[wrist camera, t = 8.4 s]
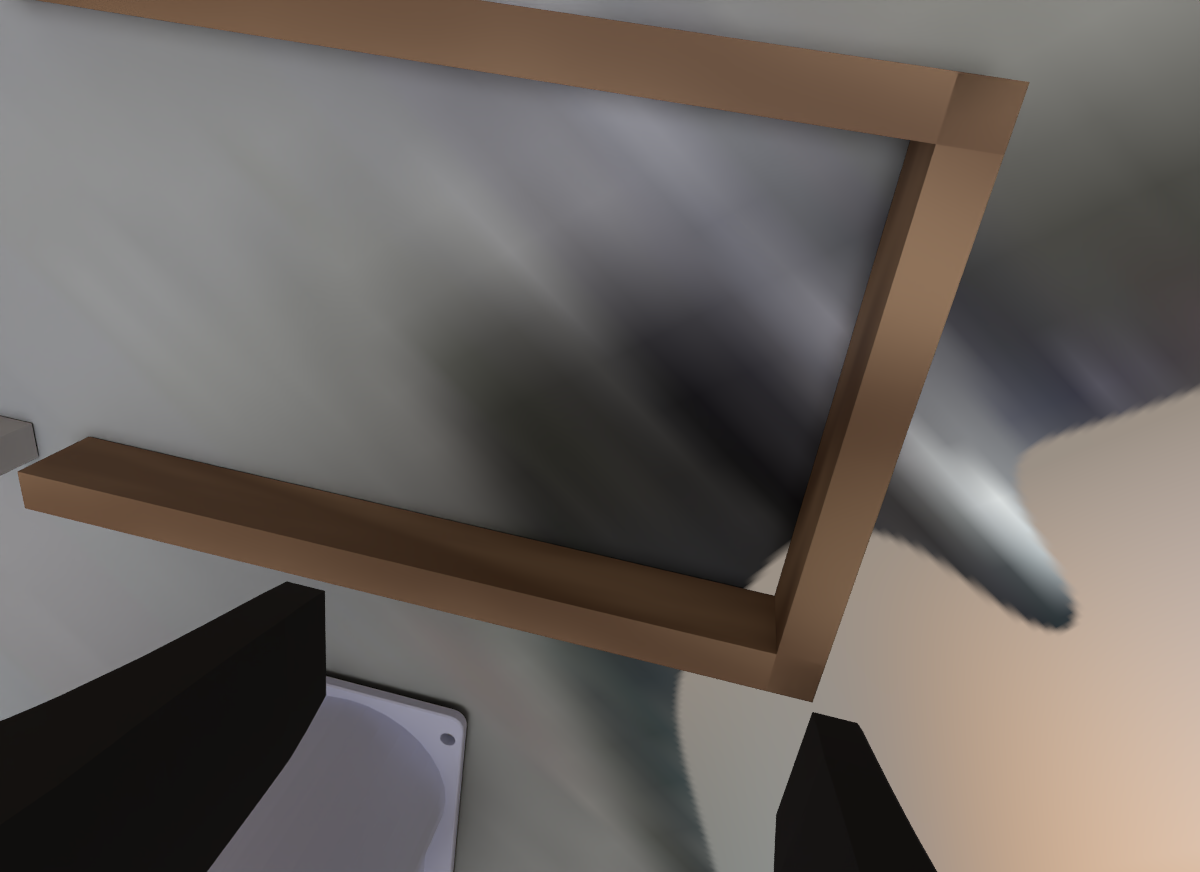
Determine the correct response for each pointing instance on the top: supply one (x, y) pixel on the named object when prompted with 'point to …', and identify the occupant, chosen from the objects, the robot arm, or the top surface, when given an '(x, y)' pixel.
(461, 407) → the top surface
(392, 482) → the top surface
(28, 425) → the grey corral
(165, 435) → the top surface
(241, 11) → the brown u-shaped frame
